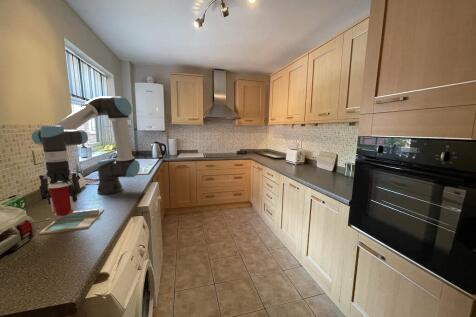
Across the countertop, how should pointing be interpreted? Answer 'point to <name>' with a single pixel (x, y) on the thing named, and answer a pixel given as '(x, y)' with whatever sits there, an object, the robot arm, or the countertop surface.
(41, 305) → the countertop surface
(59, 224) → the board
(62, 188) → the coffee cup
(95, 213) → the rail
